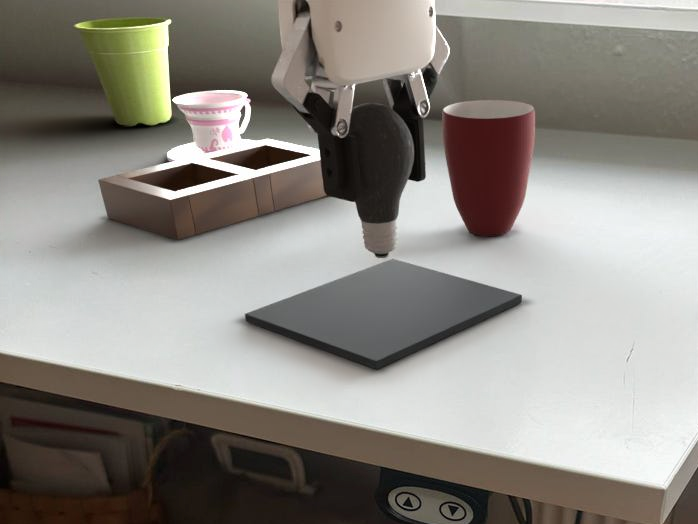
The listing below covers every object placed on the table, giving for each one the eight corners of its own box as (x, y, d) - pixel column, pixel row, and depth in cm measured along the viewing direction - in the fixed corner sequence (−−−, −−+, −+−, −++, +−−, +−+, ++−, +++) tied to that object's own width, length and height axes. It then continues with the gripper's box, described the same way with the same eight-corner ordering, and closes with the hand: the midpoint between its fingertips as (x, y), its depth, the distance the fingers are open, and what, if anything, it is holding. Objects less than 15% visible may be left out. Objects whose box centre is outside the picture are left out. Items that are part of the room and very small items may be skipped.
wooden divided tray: (178, 240, 86) (169, 199, 84) (107, 218, 92) (97, 179, 90) (344, 190, 98) (340, 154, 96) (272, 173, 104) (267, 138, 102)
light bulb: (347, 272, 67) (331, 114, 60) (340, 247, 71) (324, 97, 65) (425, 265, 68) (417, 109, 61) (413, 242, 72) (405, 93, 66)
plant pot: (204, 113, 129) (186, 16, 122) (163, 133, 121) (141, 29, 113) (126, 110, 132) (105, 14, 124) (80, 129, 123) (54, 27, 115)
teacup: (200, 175, 104) (188, 112, 100) (149, 156, 111) (136, 97, 107) (291, 156, 110) (283, 96, 106) (237, 139, 117) (228, 82, 113)
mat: (377, 369, 64) (376, 361, 64) (245, 321, 71) (244, 313, 71) (522, 302, 73) (522, 294, 73) (393, 265, 80) (392, 258, 80)
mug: (416, 220, 90) (410, 102, 84) (486, 206, 93) (485, 91, 87) (476, 249, 83) (474, 123, 77) (550, 232, 87) (553, 110, 80)
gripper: (404, -146, 62) (420, 156, 73) (189, -143, 52) (246, 206, 63) (492, -148, 58) (494, 171, 70) (279, -145, 48) (322, 227, 60)
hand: (375, 185), depth 66 cm, fingers closed on light bulb, 5 cm apart
